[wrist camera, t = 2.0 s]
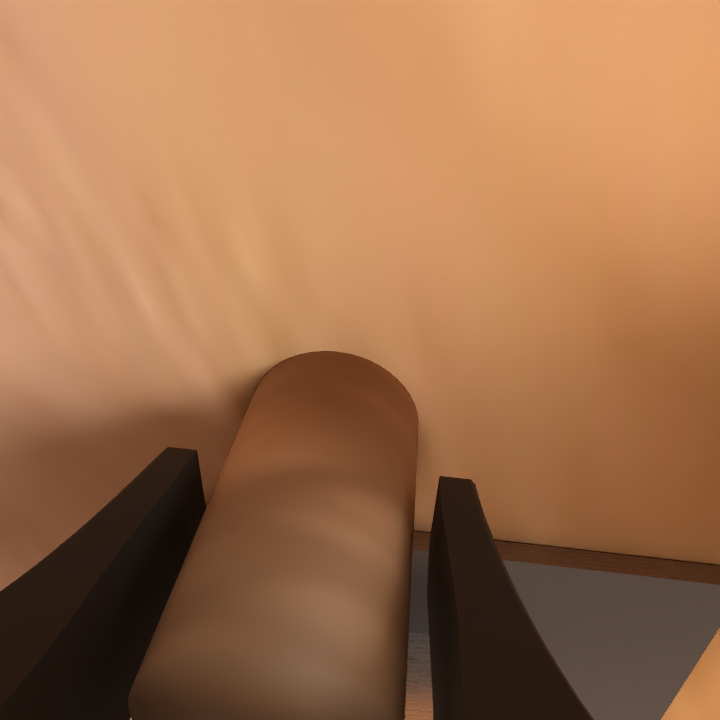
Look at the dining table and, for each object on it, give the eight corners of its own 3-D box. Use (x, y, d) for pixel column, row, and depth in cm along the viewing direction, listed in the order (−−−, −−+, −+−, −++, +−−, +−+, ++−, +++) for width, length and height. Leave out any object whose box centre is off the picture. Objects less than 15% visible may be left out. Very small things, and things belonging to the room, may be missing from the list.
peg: (426, 360, 13) (415, 676, 8) (410, 489, 16) (393, 810, 10) (245, 343, 14) (102, 637, 8) (256, 473, 16) (151, 775, 10)
